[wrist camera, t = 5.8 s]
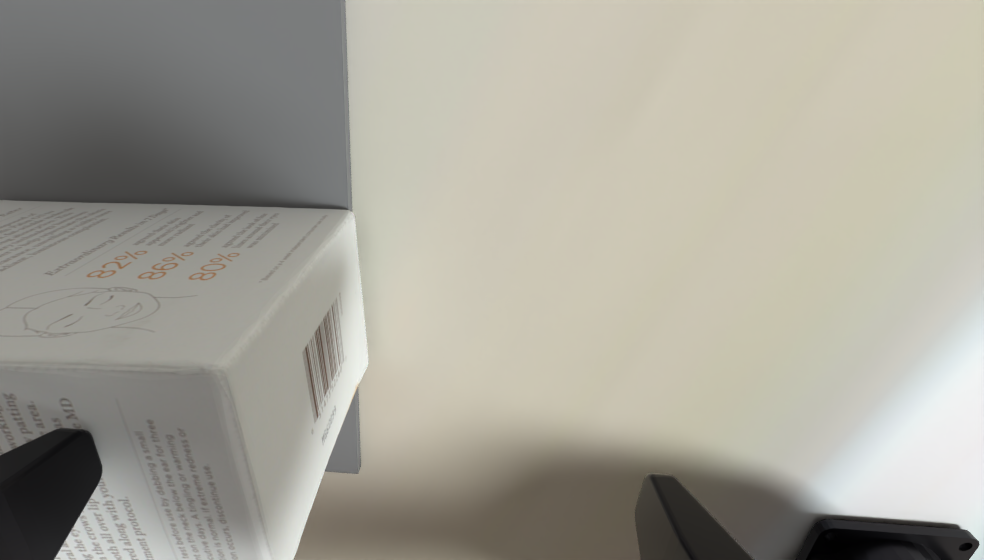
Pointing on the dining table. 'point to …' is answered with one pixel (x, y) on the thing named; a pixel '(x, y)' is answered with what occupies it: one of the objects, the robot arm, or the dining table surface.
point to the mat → (179, 110)
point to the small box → (183, 365)
